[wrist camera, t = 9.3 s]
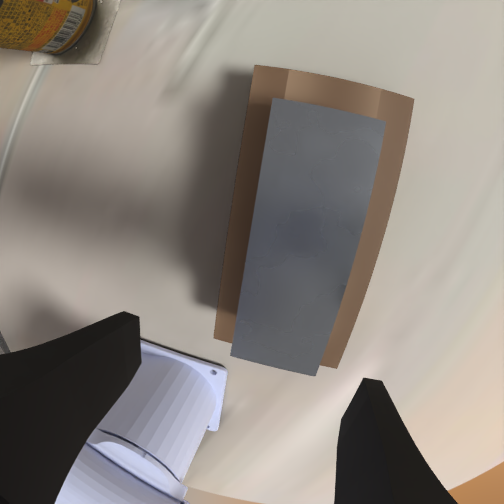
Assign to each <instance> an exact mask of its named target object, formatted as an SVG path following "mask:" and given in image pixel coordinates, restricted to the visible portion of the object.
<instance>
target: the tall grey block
mask: <svg viewBox="0 0 504 504" xmlns="http://www.w3.org/2000/svg"><path fill="white" fill-rule="evenodd" d="M385 126H386V121H383V120H379V119H375V118H371V117H368V116H364V115H360V114H355V113H351V112H347V111H343V110H338V109H333V108H329V107H324V106H319V105H314V104H309V103H303V102H298V101H292V100H286V99H279V98H273V99H272V105H271V111H270V117H269V123H268V129H267V135H266V141H265V147H264V153H263V159H262V165H261V171H260V177H259V183H258V189H257V195H256V201H255V207H254V213H253V219H252V225H251V231H250V237H249V243H248V249H247V255H246V262H245V268H244V274H243V280H242V286H241V292H240V299H239V305H238V311H237V317H236V323H235V330H234V336H233V342H232V348H231V355H230V356H233V357H236V358H240V359H244V360H248V361H251V362H255V363H259V364H263V365H267V366H271V367H275V368H279V369H284V370H288V371H292V372H297V373H301V374H306V375H310V376H316V373H317V370H318V368H319V365H320V362H321V360H322V357H323V354H324V351H325V349H326V346H327V343H328V340H329V337H330V335H331V332H332V329H333V326H334V323H335V320H336V317H337V314H338V311H339V308H340V305H341V302H342V298H343V295H344V292H345V289H346V286H347V282H348V279H349V276H350V272H351V269H352V266H353V262H354V259H355V255H356V252H357V248H358V244H359V241H360V237H361V233H362V229H363V226H364V222H365V218H366V214H367V210H368V206H369V202H370V198H371V193H372V189H373V185H374V180H375V176H376V171H377V166H378V162H379V157H380V152H381V147H382V142H383V137H384V131H385Z"/></svg>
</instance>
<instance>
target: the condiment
mask: <svg viewBox="0 0 504 504" xmlns="http://www.w3.org/2000/svg"><path fill="white" fill-rule="evenodd" d="M102 1H103V2H102V3H100V0H0V48H7V49H17V50H26V51H31V52H33V54H32V58H31V62H30V65H44V64H99V62H100V59H101V56H102V53H103V51H104V48H105V45H106V42H107V39H108V35H109V32H110V30H111V27H112V24H113V21H114V18H115V15H116V12H117V11H118V9H119V4H120V0H102ZM76 47H77V49H76Z"/></svg>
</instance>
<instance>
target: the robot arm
mask: <svg viewBox="0 0 504 504" xmlns="http://www.w3.org/2000/svg"><path fill="white" fill-rule="evenodd" d="M213 370H215V371H216V372H215V371H213ZM227 374H228V372H227V370H226V369H225V368H224V367H221V366H218V365H215V364H211V363H208V362H205V361H202V360H198V359H195V358H192V357H189V356H186V355H183V354H180V353H177V352H174V351H171V350H168V349H165V348H162V347H160V346H157V345H154V344H151V343H148V342H146V341H143V340H140V321H139V317H138V316H136V315H133V314H130V313H127V312H125V311H123V312H120V313H118V314H115V315H113V316H110V317H108V318H106V319H103V320H101V321H99V322H96V323H94V324H92V325H89V326H87V327H85V328H82V329H80V330H77V331H75V332H73V333H70V334H68V335H65V336H63V337H60V338H57V339H54V340H52V341H49V342H46V343H44V344H41V345H38V346H34V347H31V348H28V349H24V350H20V351H16V352H12V353H7V354H1V355H0V504H190V503H189V502H188V501H186V500H184V499H183V498H184V496H185V494H186V492H187V489H188V487H186V486H185V485H183V484H181V483H182V481H183V479H184V477H185V475H186V473H187V471H188V468H189V466H190V464H191V462H192V460H193V457H194V455H195V453H196V451H197V449H198V446H199V444H200V442H201V440H202V438H203V435H204V433H205V431H206V429H208V430H211V431H217V430H218V427H219V422H220V416H221V410H222V404H223V398H224V392H225V386H226V380H227ZM334 504H458V503H457V502H456V501H455V500H454V499H453V497H452V496H451V495H450V494H449V493H448V491H447V490H446V489H445V488H444V486H443V485H442V484H441V482H440V481H439V480H438V478H437V477H436V475H435V474H434V473H433V471H432V470H431V468H430V467H429V466H428V464H427V462H426V461H425V459H424V458H423V456H422V454H421V453H420V451H419V450H418V448H417V446H416V445H415V443H414V441H413V439H412V438H411V436H410V434H409V432H408V430H407V428H406V427H405V425H404V423H403V421H402V419H401V417H400V415H399V413H398V411H397V409H396V407H395V405H394V403H393V402H392V400H391V398H390V396H389V394H388V392H387V390H386V388H385V386H384V384H383V382H382V381H380V380H374V379H368V378H363V380H362V382H361V384H360V386H359V387H358V389H357V391H356V393H355V395H354V397H353V399H352V401H351V403H350V404H349V406H348V408H347V410H346V412H345V413H344V415H343V417H342V419H341V424H340V431H339V437H338V444H337V461H336V483H335V501H334Z"/></svg>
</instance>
